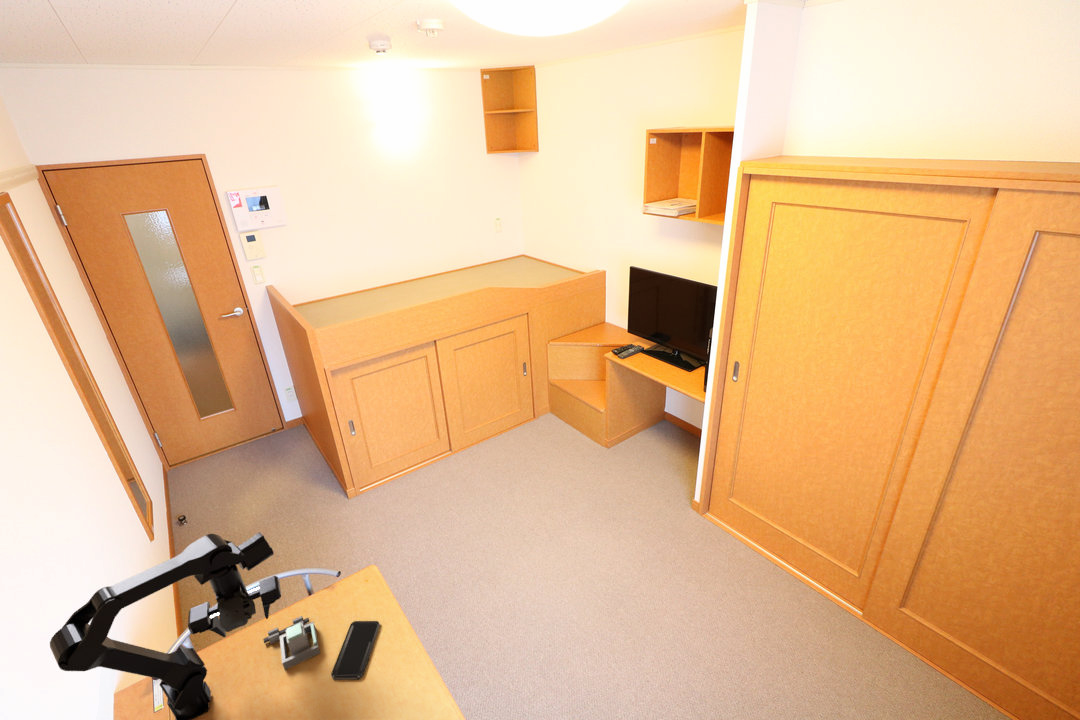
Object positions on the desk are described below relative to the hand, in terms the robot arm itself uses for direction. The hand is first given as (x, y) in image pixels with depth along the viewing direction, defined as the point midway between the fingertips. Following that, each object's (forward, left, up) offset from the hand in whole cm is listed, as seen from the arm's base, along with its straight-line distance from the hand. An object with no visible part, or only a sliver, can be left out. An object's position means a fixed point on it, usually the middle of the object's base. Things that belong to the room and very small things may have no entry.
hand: (246, 626), depth 122 cm
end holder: (+9, -4, -11) cm, 15 cm away
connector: (+9, -3, -11) cm, 15 cm away
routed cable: (+7, +3, -11) cm, 13 cm away
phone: (+22, -12, -12) cm, 27 cm away
